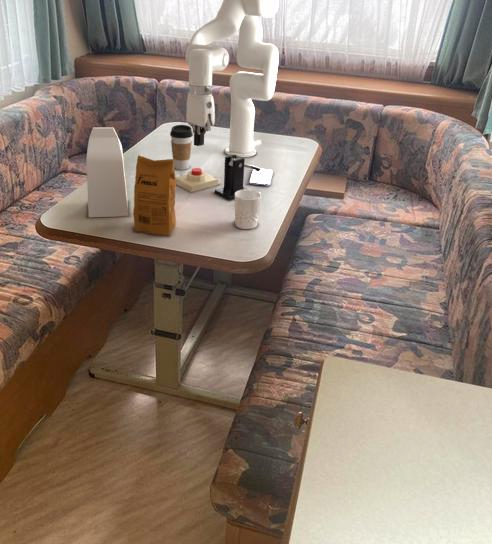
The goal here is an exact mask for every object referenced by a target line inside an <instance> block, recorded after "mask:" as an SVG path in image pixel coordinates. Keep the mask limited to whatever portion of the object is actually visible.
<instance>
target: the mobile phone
mask: <svg viewBox="0 0 492 544" xmlns="http://www.w3.org/2000/svg"><path fill="white" fill-rule="evenodd" d="M260 169H261V170H260V171H256V170H254V169H252V172H251V175H250V177H249V180H248V184H250V185H254V186H264V187H269V186H270V185H271V182H272V178H273V173H274V171H273V170H272V169H265V168H260Z"/></svg>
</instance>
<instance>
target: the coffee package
mask: <svg viewBox="0 0 492 544" xmlns="http://www.w3.org/2000/svg"><path fill="white" fill-rule="evenodd" d="M175 177H176V172H175V168H174V160H173V158H166V159H156V160H155V159H154V160H153V159H151V158H148V157H145V156H142V155H139V154H138V155H137V158H136V165H135V177H134V178H135V179H134V180H135V181H134V186H133V187H134V189H133V229H134V232H136V233H147V234H148V235H151V236H170V235H171V233H172V232H173V231H174V229H175V228H176V224H177V221H176V209H175V206H176V188H177V187H176V185H177V184H176V179H175Z"/></svg>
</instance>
